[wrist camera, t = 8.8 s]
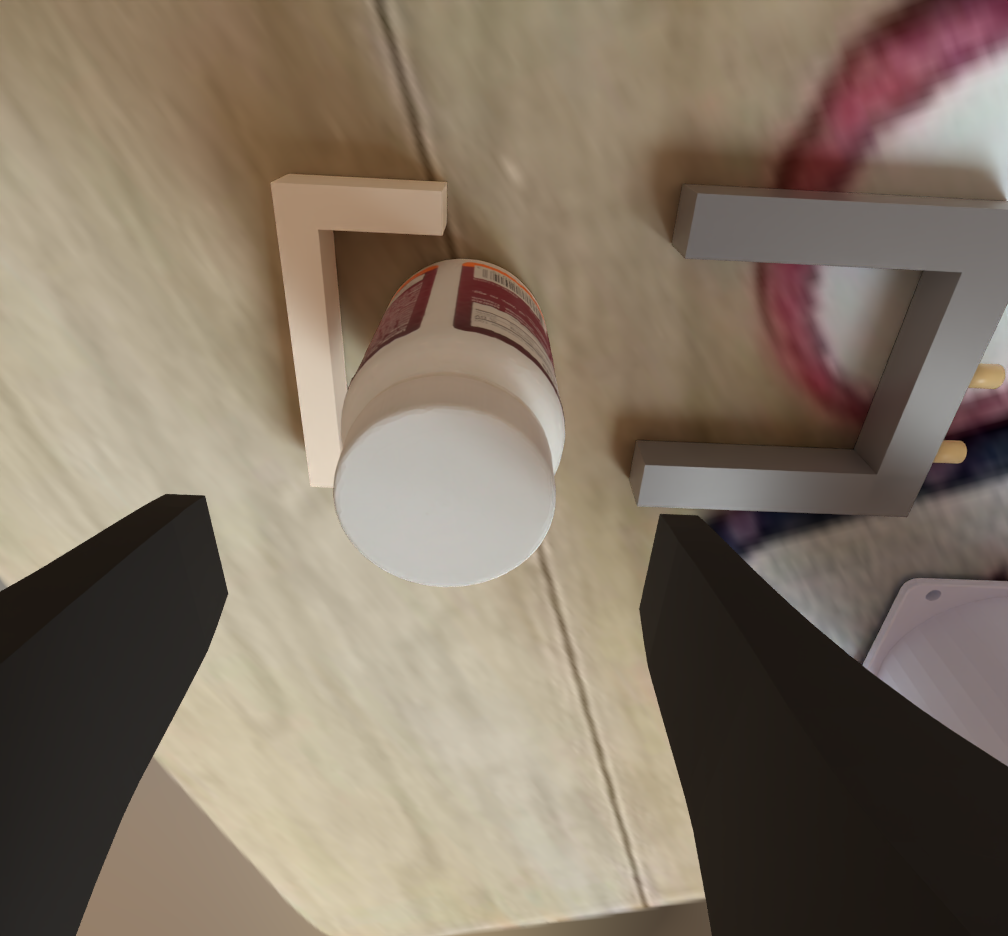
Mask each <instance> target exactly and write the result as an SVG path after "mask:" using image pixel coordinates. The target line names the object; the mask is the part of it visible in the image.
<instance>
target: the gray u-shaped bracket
mask: <svg viewBox="0 0 1008 936" xmlns="http://www.w3.org/2000/svg"><path fill="white" fill-rule="evenodd" d="M672 246H673V247H674V248H675V249H676V250H677V251H678V252H679V253H680V254H681V255H682V256H683V257H684V258H685V259H705V260H725V261H745V262H765V263H785V264H805V265H825V266H845V267H865V268H885V269H905V270H923V273H922V275H921V278H920V280H919V283H918V286H917V288H916V291H915V293H914V296H913V298H912V301H911V304H910V306H909V309H908V311H907V314H906V316H905V319H904V322H903V324H902V327H901V329H900V332H899V334H898V337H897V340H896V342H895V345H894V347H893V350H892V352H891V355H890V358H889V360H888V363H887V365H886V368H885V370H884V373H883V376H882V378H881V381H880V383H879V386H878V388H877V391H876V394H875V396H874V399H873V401H872V404H871V406H870V409H869V412H868V414H867V417H866V419H865V422H864V424H863V427H862V430H861V432H860V435H859V437H858V440H857V442H856V445H855V447H854V449H831V448H808V447H784V446H760V445H737V444H713V443H690V442H666V441H642V440H636V444H635V450H634V455H633V461H632V466H631V472H630V477H629V481H630V485H631V488H632V491H633V494H634V498H635V501H636V504H637V506H642V507H667V508H692V509H718V510H743V511H768V512H793V513H819V514H844V515H869V516H895V517H907V516H908V514H909V512H910V510H911V508H912V506H913V504H914V501H915V499H916V497H917V495H918V493H919V491H920V489H921V487H922V484H923V482H924V480H925V478H926V476H927V474H928V472H929V470H930V467H931V465H932V463H956V464H958V463H961V462H963V461H964V459H965V457H966V454H967V448H966V445H965V444H964V443H963V442H962V441H955V440H944V438H945V435H946V433H947V431H948V429H949V427H950V425H951V423H952V421H953V418H954V416H955V414H956V412H957V410H958V408H959V406H960V404H961V401H962V399H963V397H964V395H965V393H966V391H967V389H968V388H983V389H996V388H998V387H1000V386H1001V385H1002V383H1003V381H1004V379H1005V370H1004V368H1003V367H1002V366H1001V365H999V364H982V363H980V361H981V359H982V357H983V355H984V352H985V350H986V348H987V346H988V344H989V342H990V340H991V338H992V335H993V333H994V331H995V329H996V327H997V325H998V323H999V321H1000V318H1001V316H1002V314H1003V312H1004V310H1005V308H1006V306H1007V304H1008V201H995V200H977V199H958V198H939V197H920V196H901V195H883V194H864V193H845V192H826V191H807V190H789V189H770V188H751V187H732V186H714V185H695V184H682V190H681V195H680V201H679V206H678V212H677V217H676V223H675V228H674V234H673V239H672Z"/></svg>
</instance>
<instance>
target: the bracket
mask: <svg viewBox="0 0 1008 936" xmlns="http://www.w3.org/2000/svg"><path fill="white" fill-rule="evenodd" d="M270 184H271V191H272V199H273V206H274V214H275V221H276V229H277V237H278V244H279V252H280V259H281V267H282V274H283V282H284V290H285V297H286V305H287V312H288V320H289V327H290V335H291V343H292V350H293V358H294V365H295V373H296V380H297V388H298V396H299V403H300V411H301V418H302V426H303V433H304V441H305V449H306V456H307V464H308V471H309V479H310V486H311V487H333V483H334V475H335V471H336V467H337V464H338V460H339V457H340V455H341V452H342V449H343V447H342V440H341V416H342V409H343V404H344V399H345V396H346V393H347V382H346V370H345V359H344V347H343V336H342V325H341V313H340V302H339V290H338V279H337V267H336V256H335V245H334V233H333V230H339V231H359V232H379V233H398V234H418V235H438V236H442V235H443V233H444V230H445V227H446V224H447V182H437V181H418V180H399V179H380V178H361V177H342V176H323V175H304V174H287V175H285V176H283V177H281V178H279V179H276V180H274V181H272V182H270Z"/></svg>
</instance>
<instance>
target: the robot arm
mask: <svg viewBox="0 0 1008 936" xmlns="http://www.w3.org/2000/svg"><path fill="white" fill-rule="evenodd" d="M227 595H228V591H227V586H226V582H225V578H224V574H223V569H222V565H221V561H220V557H219V553H218V548H217V544H216V540H215V536H214V532H213V527H212V523H211V519H210V515H209V511H208V506H207V502H206V498H205V496H202V495H177V494H165V495H163V496H161V497H159V498H157V499H155V500H154V501H152V502H150V503H148V504H146V505H145V506H143V507H141V508H139V509H138V510H136V511H134V512H133V513H131V514H129V515H128V516H126V517H124V518H123V519H121V520H119V521H118V522H116V523H115V524H113V525H111V526H110V527H108V528H106V529H105V530H103V531H102V532H100V533H98V534H97V535H95V536H93V537H92V538H90V539H89V540H87V541H85V542H84V543H82V544H80V545H79V546H77V547H75V548H74V549H72V550H71V551H69V552H67V553H66V554H64V555H62V556H61V557H59V558H57V559H56V560H54V561H52V562H51V563H49V564H48V565H46V566H44V567H43V568H41V569H39V570H38V571H36V572H34V573H32V574H31V575H29V576H27V577H25V578H24V579H22V580H20V581H18V582H17V583H15V584H13V585H11V586H9V587H8V588H6V589H4V590H2V591H1V592H0V936H76V933H77V931H78V928H79V926H80V923H81V920H82V918H83V914H84V912H85V910H86V907H87V904H88V901H89V899H90V897H91V894H92V891H93V889H94V886H95V883H96V881H97V879H98V876H99V874H100V871H101V869H102V866H103V864H104V861H105V859H106V856H107V854H108V851H109V849H110V846H111V844H112V842H113V839H114V837H115V834H116V832H117V829H118V827H119V824H120V822H121V820H122V817H123V815H124V813H125V811H126V809H127V806H128V804H129V802H130V800H131V798H132V796H133V794H134V791H135V790H136V788H137V785H138V783H139V781H140V779H141V778H142V776H143V773H144V772H145V770H146V768H147V766H148V764H149V762H150V760H151V759H152V757H153V755H154V753H155V751H156V749H157V747H158V745H159V743H160V742H161V740H162V738H163V736H164V734H165V732H166V730H167V728H168V726H169V724H170V723H171V721H172V719H173V717H174V715H175V713H176V711H177V709H178V707H179V706H180V704H181V702H182V700H183V698H184V696H185V694H186V692H187V690H188V688H189V686H190V684H191V682H192V681H193V679H194V677H195V675H196V673H197V671H198V669H199V667H200V665H201V663H202V661H203V659H204V657H205V655H206V653H207V651H208V649H209V646H210V643H211V641H212V638H213V635H214V633H215V630H216V627H217V625H218V622H219V619H220V616H221V613H222V610H223V607H224V604H225V601H226V598H227ZM639 610H640V617H641V624H642V631H643V639H644V645H645V651H646V657H647V663H648V668H649V672H650V675H651V679H652V683H653V686H654V690H655V693H656V697H657V701H658V704H659V708H660V711H661V715H662V718H663V722H664V725H665V729H666V732H667V736H668V739H669V743H670V746H671V750H672V753H673V757H674V760H675V764H676V767H677V771H678V774H679V778H680V781H681V785H682V788H683V792H684V795H685V799H686V803H687V807H688V811H689V815H690V819H691V824H692V828H693V832H694V837H695V843H696V848H697V854H698V859H699V864H700V870H701V875H702V881H703V886H704V892H705V897H706V903H707V909H708V915H709V920H710V926H711V932H712V936H1008V581H989V580H962V579H935V578H915V579H911V580H908V581H907V582H906V583H904V584H903V586H902V587H901V589H900V591H899V593H898V595H897V597H896V599H895V601H894V603H893V605H892V607H891V609H890V611H889V613H888V615H887V617H886V619H885V621H884V623H883V625H882V627H881V629H880V631H879V633H878V635H877V637H876V639H875V641H874V643H873V645H872V647H871V649H870V651H869V653H868V655H867V657H866V659H865V661H864V663H863V665H861V664H860V663H859V662H857V661H856V660H855V659H853V658H852V657H851V656H850V655H848V654H847V653H846V652H845V651H844V650H842V649H841V648H840V647H839V646H838V645H837V644H835V643H834V642H833V641H832V640H831V639H829V638H828V637H827V636H826V635H825V634H823V633H822V632H821V631H820V630H819V629H818V628H816V627H815V626H814V625H813V624H812V623H810V622H809V621H808V620H807V619H806V618H805V617H804V616H803V615H802V614H800V613H799V612H798V611H797V610H796V609H795V608H794V607H793V606H791V605H790V604H789V603H788V602H787V601H786V600H785V599H784V598H783V597H782V596H781V595H779V594H778V593H777V592H776V591H775V590H774V589H773V588H772V587H771V586H770V585H769V584H768V583H767V582H766V581H765V580H764V579H763V578H762V577H761V576H759V575H758V574H757V573H756V572H755V571H754V570H753V569H752V568H751V567H750V566H749V565H748V564H747V563H746V562H745V561H744V560H743V559H742V558H741V557H740V556H739V555H738V554H737V553H736V552H735V551H734V550H733V549H732V548H731V547H730V546H729V545H728V544H727V543H726V542H725V541H724V540H723V539H722V538H721V537H720V536H719V535H718V534H717V533H716V532H715V531H714V530H713V529H712V528H711V527H710V526H709V525H707V524H706V523H705V522H704V521H703V520H702V519H701V518H700V517H699V516H696V515H671V514H660V516H659V520H658V525H657V530H656V534H655V539H654V543H653V548H652V553H651V557H650V562H649V566H648V571H647V576H646V580H645V585H644V589H643V594H642V599H641V603H640V608H639Z"/></svg>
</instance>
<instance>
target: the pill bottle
mask: <svg viewBox="0 0 1008 936" xmlns="http://www.w3.org/2000/svg"><path fill="white" fill-rule="evenodd" d="M341 440H342V447H343V449H342V452H341V455H340V457H339V460H338V464H337V467H336V471H335V475H334V483H333V498H334V504H335V510H336V513H337V516H338V519H339V522H340V524H341V527H342V528H343V530H344V532H345V534H346V535H347V537H348V538H349V540H350V541H351V542H352V544H353V545H354V546H355V547H356V548H357V549H358V551H359V552H360V553H361V554H363V555H364V556H365V557H366V558H367V559H368V560H369V561H371V562H372V563H374V564H375V565H376V566H378V567H379V568H381V569H382V570H384V571H386V572H388V573H390V574H392V575H395V576H397V577H399V578H401V579H404V580H407V581H410V582H414V583H418V584H422V585H428V586H438V587H460V586H467V585H474V584H479V583H482V582H485V581H489V580H492V579H495V578H498V577H500V576H502V575H504V574H506V573H508V572H509V571H511V570H513V569H514V568H516V567H518V566H519V565H520V564H522V563H523V562H524V561H525V560H526V559H528V558H529V557H530V556H531V555H532V554H533V553H534V552H535V551H536V549H537V548H538V547H539V545H540V544H541V543H542V541H543V539H544V538H545V536H546V534H547V532H548V530H549V528H550V525H551V523H552V520H553V516H554V511H555V503H556V487H555V479H554V475H555V473H556V471H557V469H558V466H559V463H560V460H561V456H562V452H563V447H564V442H565V419H564V413H563V408H562V404H561V401H560V397H559V391H558V386H557V380H556V375H555V371H554V365H553V358H552V353H551V349H550V343H549V338H548V334H547V328H546V324H545V320H544V317H543V314H542V311H541V309H540V307H539V305H538V303H537V301H536V299H535V298H534V296H533V295H532V293H531V292H530V291H529V290H528V288H527V287H526V286H525V285H524V284H523V283H522V282H521V281H520V280H519V279H518V278H516V277H515V276H514V275H513V274H511V273H510V272H508V271H507V270H505V269H503V268H501V267H499V266H497V265H494V264H491V263H488V262H484V261H480V260H473V259H452V260H444V261H441V262H437V263H434V264H432V265H430V266H427V267H425V268H423V269H421V270H420V271H418V272H417V273H415V274H414V275H412V276H411V277H410V278H409V279H407V280H406V281H405V282H404V283H403V284H402V285H401V287H400V288H399V289H398V290H397V292H396V293H395V294H394V296H393V298H392V300H391V301H390V303H389V305H388V307H387V309H386V311H385V313H384V315H383V317H382V320H381V322H380V324H379V326H378V328H377V330H376V332H375V334H374V337H373V339H372V341H371V343H370V345H369V347H368V349H367V351H366V353H365V356H364V358H363V360H362V362H361V364H360V366H359V368H358V370H357V372H356V374H355V375H354V377H353V378H352V380H351V383H350V385H349V388H348V391H347V393H346V396H345V399H344V404H343V409H342V416H341Z"/></svg>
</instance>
